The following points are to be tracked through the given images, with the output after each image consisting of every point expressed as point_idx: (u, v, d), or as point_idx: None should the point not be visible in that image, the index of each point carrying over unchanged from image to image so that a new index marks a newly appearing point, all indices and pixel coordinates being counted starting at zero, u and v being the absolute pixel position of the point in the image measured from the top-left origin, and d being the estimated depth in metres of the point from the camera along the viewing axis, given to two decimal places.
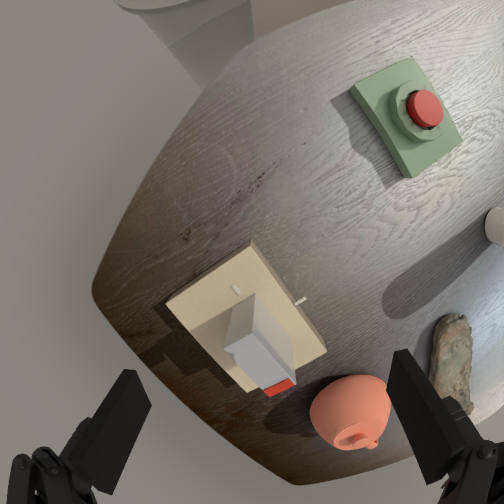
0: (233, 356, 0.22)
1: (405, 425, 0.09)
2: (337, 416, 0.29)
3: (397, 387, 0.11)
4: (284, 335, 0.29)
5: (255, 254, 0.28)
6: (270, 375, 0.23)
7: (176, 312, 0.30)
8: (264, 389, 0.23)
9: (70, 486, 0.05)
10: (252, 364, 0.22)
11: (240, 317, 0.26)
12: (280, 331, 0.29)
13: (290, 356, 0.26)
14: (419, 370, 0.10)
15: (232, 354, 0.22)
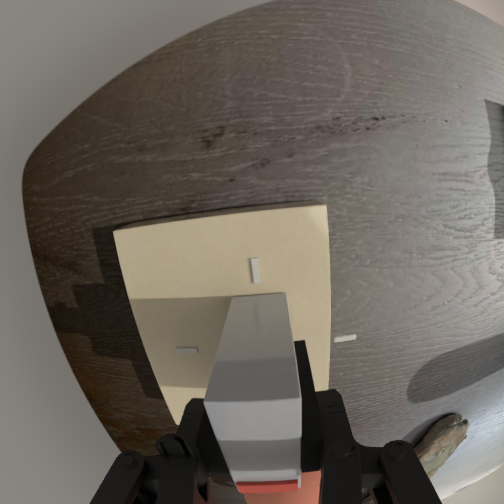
0: (218, 424, 0.08)
1: None
2: (290, 501, 0.16)
3: None
4: None
5: (326, 224, 0.14)
6: (268, 470, 0.08)
7: (125, 255, 0.15)
8: (238, 481, 0.09)
9: (194, 482, 0.06)
10: (249, 448, 0.08)
11: (253, 330, 0.11)
12: None
13: None
14: (306, 360, 0.12)
15: (218, 420, 0.08)
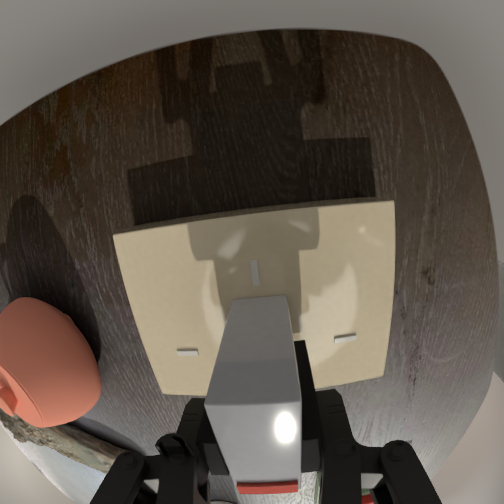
0: (219, 426, 0.08)
1: None
2: (45, 384, 0.14)
3: None
4: None
5: (369, 377, 0.16)
6: (268, 472, 0.08)
7: (370, 212, 0.14)
8: (238, 483, 0.09)
9: (194, 482, 0.06)
10: (250, 450, 0.08)
11: (254, 333, 0.11)
12: None
13: None
14: (306, 360, 0.12)
15: (219, 422, 0.08)
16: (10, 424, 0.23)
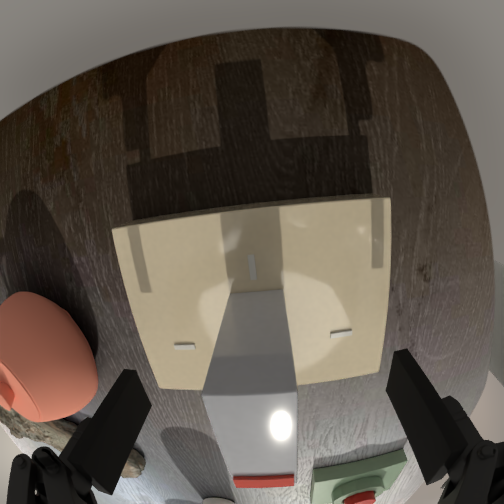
0: (216, 417, 0.08)
1: (405, 425, 0.09)
2: (43, 378, 0.14)
3: (397, 387, 0.11)
4: None
5: (365, 373, 0.17)
6: (265, 465, 0.09)
7: (366, 209, 0.14)
8: (234, 476, 0.09)
9: (70, 487, 0.05)
10: (247, 442, 0.08)
11: (251, 326, 0.12)
12: None
13: None
14: (419, 370, 0.10)
15: (216, 413, 0.08)
16: (7, 420, 0.22)
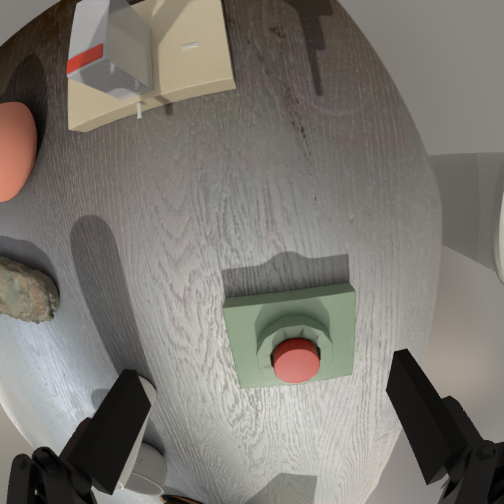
0: (77, 11, 0.10)
1: (405, 425, 0.09)
2: None
3: (397, 387, 0.11)
4: (147, 71, 0.17)
5: (219, 79, 0.18)
6: (88, 38, 0.10)
7: None
8: (69, 61, 0.11)
9: (70, 486, 0.05)
10: (85, 21, 0.10)
11: None
12: (145, 62, 0.17)
13: (131, 68, 0.14)
14: (419, 370, 0.10)
15: (78, 9, 0.10)
16: None
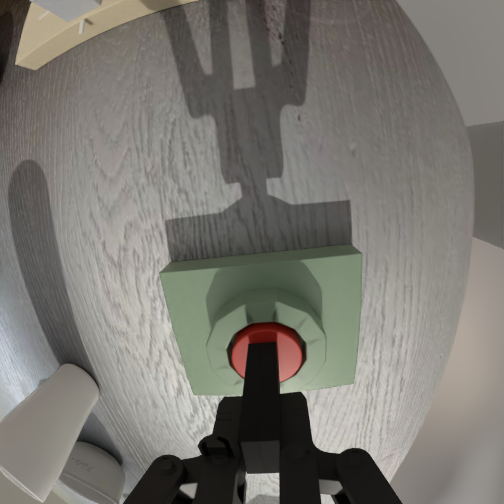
0: None
1: None
2: None
3: None
4: None
5: None
6: None
7: None
8: None
9: (235, 484, 0.06)
10: None
11: None
12: None
13: None
14: (274, 362, 0.12)
15: None
16: None
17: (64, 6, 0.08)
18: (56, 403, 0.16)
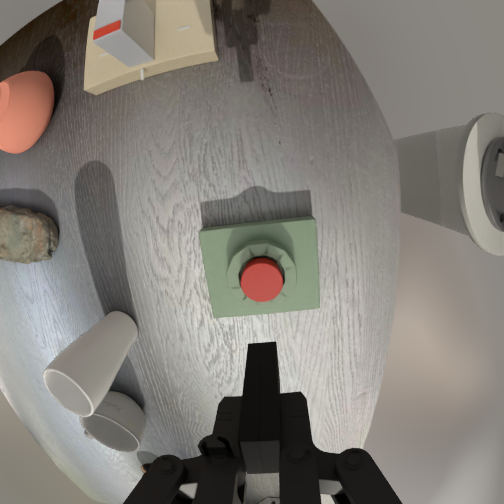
0: None
1: None
2: (23, 87, 0.19)
3: None
4: (150, 45, 0.21)
5: (204, 51, 0.22)
6: (110, 17, 0.14)
7: None
8: (95, 31, 0.15)
9: (235, 485, 0.06)
10: (107, 5, 0.14)
11: None
12: (149, 38, 0.20)
13: (139, 40, 0.18)
14: (274, 362, 0.12)
15: None
16: None
17: (130, 59, 0.20)
18: (109, 335, 0.28)
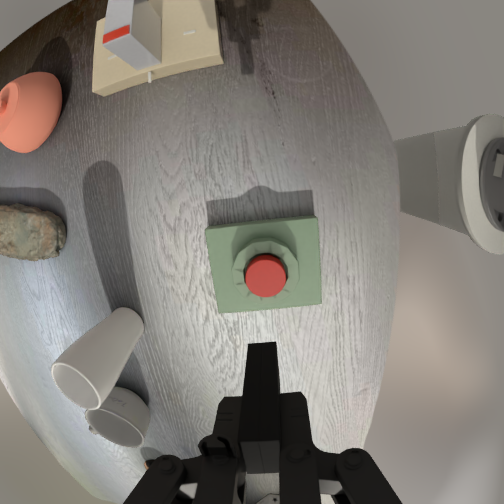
0: (110, 2, 0.15)
1: None
2: (31, 88, 0.20)
3: None
4: (157, 48, 0.22)
5: (210, 55, 0.23)
6: (119, 21, 0.15)
7: None
8: (104, 35, 0.16)
9: (235, 484, 0.06)
10: (116, 9, 0.15)
11: None
12: (156, 42, 0.21)
13: (147, 44, 0.19)
14: (274, 362, 0.12)
15: (110, 1, 0.14)
16: None
17: (138, 62, 0.22)
18: (117, 330, 0.29)
